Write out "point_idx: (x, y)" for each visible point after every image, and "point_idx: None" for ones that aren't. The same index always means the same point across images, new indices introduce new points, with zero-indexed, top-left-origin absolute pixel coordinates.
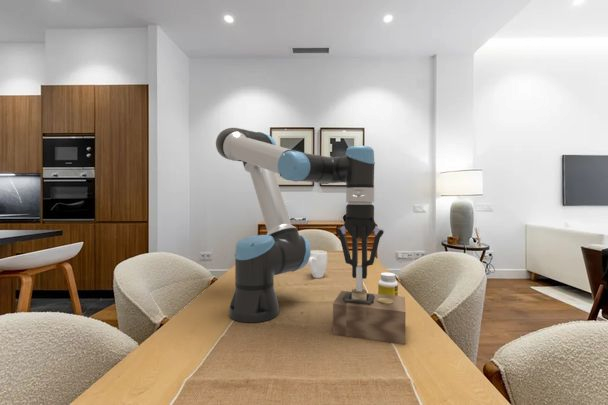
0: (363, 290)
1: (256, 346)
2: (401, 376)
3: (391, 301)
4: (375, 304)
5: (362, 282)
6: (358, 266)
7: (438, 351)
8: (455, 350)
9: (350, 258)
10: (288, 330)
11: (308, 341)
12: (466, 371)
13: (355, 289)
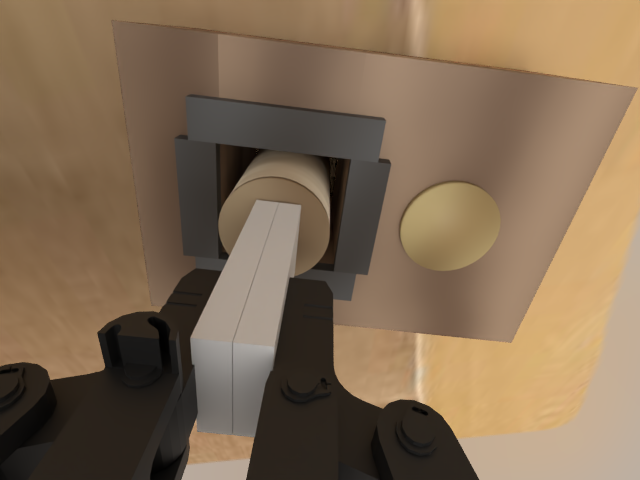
0: (306, 220)
1: (14, 338)
2: (401, 395)
3: (483, 243)
4: (377, 279)
5: (292, 266)
6: (218, 403)
7: (556, 283)
8: (620, 269)
9: (15, 450)
10: (31, 228)
11: (140, 290)
12: (572, 361)
13: (243, 206)
